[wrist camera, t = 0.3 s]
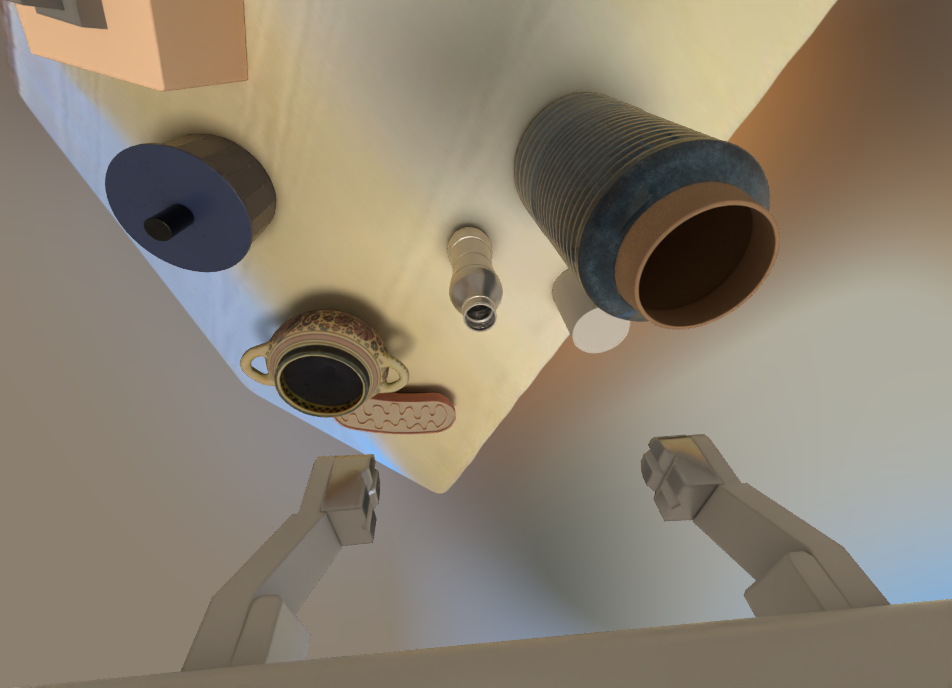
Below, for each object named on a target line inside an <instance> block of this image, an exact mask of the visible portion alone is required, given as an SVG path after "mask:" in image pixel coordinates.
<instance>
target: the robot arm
mask: <svg viewBox="0 0 952 688" xmlns="http://www.w3.org/2000/svg"><path fill="white" fill-rule="evenodd" d="M648 445H649V448H650V450H649V451H648V452H646V453H645V454H644V455H643V457H642V460H641V471H642V475H643V478H644V480H645V482H646V485H647V486H649V487H650V488H651V489H652V490H653V491H655V496H654V501H655V503H656V505H657V507H658V509H659V511H660V513H661V515H662V517H663V519H664V521H679V520H693V522H694V523H695V524H696V525H697V526H698V527H699V528H700V529H701V530H702V531H703V532H705V533H706V534H707V535H708V536H709V537H710V538H711V539H712V540H713V541H714V542H715V543H716V544H717V545H719V546H720V547H721V548H722V549H723V550H724V551H725V552H726V553H727V554H728V555H729V556H730V557H732V559H734V560H735V561H736V562H737V563H738V564H739V565H740V566H741V567H742V568H743V569H744V570H746V571H747V572H748V573H749V574H750V575H751V576H752V577H753V578H754V579H755V580H756V581H755V582H754V583H753V584H752V585H751V586H750V587H748V589H746V591H745V593H744V597H745V599H746V600H747V602H748V604H749V606H750V608H751V609H752V611H753V613H754V615H755V618H746V619H745V618H744V619H734V620H723V621H713V622H702V623H693V624H692V623H691V624H681V625H671V626H660V627H649V628H640V629H639V628H638V629H628V630H617V631H607V632H596V633H586V634H575V635H565V636H554V637H543V638H532V639H522V640H511V641H501V642H490V643H481V644H480V643H479V644H469V645H458V646H448V647H437V648H426V649H416V650H405V651H394V652H384V653H373V654H363V655H353V656H341V657H331V658H320V659H310V660H305V659H306V654H307V649H308V645H309V640H310V633H309V631H308V630H307V628H306V627H305V626H304V625H303V624H302V622H301V621H300V620H299V619H298V617H297V616H296V614H297V612H298V611H299V609H300V608H301V606H302V605H303V603H304V602H305V600H306V599H307V598H308V596H309V595H310V593H311V592H312V590H313V589H314V588H315V586H316V585H317V583H318V582H319V580H320V579H321V577H322V576H323V575H324V573H325V572H326V570H327V569H328V567H329V566H330V565H331V563H332V562H333V560H334V559H335V557H336V556H337V554H338V553H339V552H340V550H341V548H342V547H341V546H348V545H357V544H367V543H373V540H374V533H375V525H376V516H375V512H374V508H375V507H376V506H377V505H378V503H379V495H380V478H379V472H378V470H376V469H375V462H376V461H375V457H374V454H368V455H346V456H323V457H318V458H317V459H316V460H315V462H314V464H313V467H312V471H311V474H310V477H309V480H308V484H307V487H306V490H305V493H304V496H303V500H302V503H301V506H300V509H299V512H298V514H292V515H291V516H290V517H289V518H288V519H287V520H286V521H285V522H284V524H283V525H282V526H281V527H280V528H279V529H278V530H277V531H276V532H275V533H274V534H273V535H272V536H271V537H270V538H269V539H268V540H267V541H266V542H265V543H264V544H263V545H262V546H261V547H260V549H258V550H257V552H256V553H255V554H254V555H253V556H252V557H251V558H250V559H249V560H248V561H247V562H246V563H245V564H244V565H243V566H242V567H241V568H240V569H239V570H238V571H237V572H236V573H235V574H234V576H232V578H230V580H229V581H228V582H227V583H226V584H225V585H224V586H223V587H222V588H221V589H220V590H219V591H218V592H217V593H216V594H215V595H214V596H213V597H212V599H211V601H210V604H209V606H208V608H207V611H206V613H205V615H204V618H203V620H202V622H201V625H200V627H199V630H198V632H197V634H196V637H195V639H194V641H193V644H192V646H191V648H190V651H189V653H188V655H187V658H186V660H185V663H184V665H183V667H182V670H181V672H172V673H161V674H150V675H141V676H129V677H119V678H108V679H98V680H88V681H77V682H67V683H57V684H45V685H34V686H21V687H10V688H952V599H946V600H936V601H925V602H914V603H903V604H894V605H891V604H890V603H889V602H888V601H887V599H886V598H885V597H884V596H883V595H882V593H881V592H880V591H879V590H878V589H877V587H876V586H875V585H874V584H873V582H872V581H871V580H870V579H869V578H868V576H867V575H866V574H865V573H864V571H863V570H862V569H861V568H860V567H859V565H858V564H857V563H856V562H855V561H854V559H853V558H852V557H851V556H850V554H849V553H848V552H847V551H846V550H845V548H844V547H843V546H841V545H840V544H838V543H837V542H835V541H834V540H832V539H831V538H829V537H828V536H826V535H825V534H823V533H822V532H820V531H819V530H817V529H816V528H814V527H813V526H811V525H810V524H808V523H807V522H805V521H803V520H802V519H800V518H799V517H797V516H796V515H794V514H793V513H791V512H790V511H788V510H787V509H785V508H784V507H782V506H781V505H779V504H778V503H776V502H775V501H773V500H772V499H770V498H769V497H767V496H766V495H764V494H762V493H761V492H760V491H758V490H757V489H755V488H753V487H752V486H750V485H749V484H747V483H741V481H740V480H739V479H738V477H737V476H736V474H735V473H734V472H733V470H732V469H731V468H730V466H729V465H728V463H727V462H726V461H725V459H724V458H723V456H722V455H721V454H720V452H719V451H718V449H717V448H716V447H715V445H714V444H713V442H712V441H711V440H710V438H709V437H707V436H706V435H704V434H698V435H678V436H677V435H676V436H664V437H654V438H652V439H651V440H650V442H649V444H648Z"/></svg>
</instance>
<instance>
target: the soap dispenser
mask: <svg viewBox="0 0 952 688" xmlns="http://www.w3.org/2000/svg"><path fill="white" fill-rule="evenodd" d="M7 1H11V2H14V3H15V5H16V8H17V11H18V14H19V17H20V20H21V23H22V26H23V29H24V33H25V36H26V39H27V42H28V45H29V48H30V51H31V52H32V53H33V54H35V55H38V56H42V57H45V58H49V59H52V60H55V61H59V62H62V63H66V64H69V65H73V66H76V67H80V68H83V69H86V70H90V71H93V72H97V73H100V74H104V75H107V76H111V77H114V78H117V79H121V80H124V81H128V82H131V83H135V84H138V85H142V86H145V87H148V88H152V89H155V90H159V91H162V92H163V91H171V90H178V89H186V88H193V87H201V86H208V85H216V84H224V83H231V82H239V81H246V80H247V79H248V75H247V57H246V40H245V22H244V5H243V0H7Z"/></svg>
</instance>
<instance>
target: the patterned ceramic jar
mask: <svg viewBox="0 0 952 688" xmlns="http://www.w3.org/2000/svg"><path fill="white" fill-rule="evenodd" d="M259 356H263V357H265V359H266V365H267V369H268V372H269V373H267V374H264V373H262V372H260V371H258V370H257V369H255V368H254V367H252V366H251V362H252V360H253V359H254V358H256V357H259ZM240 366H241V369H242V371H243V372H244V373H245V374H246V375H247V376H248V377H250V378H252V379H253V380H255V381H257V382H259V383H261V384H264V385H270V386H275V387H276V389H277V391H278V393H279V395H280V397H281V398H282V399H283V400H284V401H285V402H286V403H287V404H289V405H290V406H291V407H293V408H294V409H296V410H298V411H300V412H302V413H305V414H308V415H312V416H317V417H339V416H343V415H346V414H348V413H351V412H353V411H354V410H356V409H357V408H358V407H360V406H361V405H362V404H363V403H364V402H366V401H368V400H369V399H371V398H372V397H374V396H375V395H376V394H377V393H390V392H395V391H398V390H399V389H401V388H403V387H404V386H405V385H406V384H407V382H408V379H409V372H408V369H407V368H406V367H405V366H404V365H403V363H402V362H400V361H399V360H398V359H396V358H394V357H392V356H391V355H389V354H388V352H387V349H386V346H385V344H384V342H383V340H382V339H381V337H380V336H379V334H378V333H377V332H376V331H375V330H374V329H373V328H372V327H371V326H370V325H369V324H367V323H366V322H365V321H363V320H361V319H360V318H358V317H356V316H353V315H351V314H348V313H345V312H341V311H336V310H316V311H310V312H306V313H303V314H300V315H298V316H296V317H294V318H292V319H290V320H288V321H287V322H285V323H284V324H283V325H281V326H280V327H279V329H278V330H277V331H276V332H275V333H274V334H273V336H272V337H271V339H270V340H269V341H268V342H266V343H263V344H260V345H257V346H255V347H252V348H250V349H249V350H247V351H246V352H245V353H244V354H243V356H242V358H241V360H240ZM389 367H390V368H392V369H394V370H395V371H396V372H398V374H399V376H400V378H399V380H397V381H395V382H392V383H387V381H386V378H387V375H388V371H389Z"/></svg>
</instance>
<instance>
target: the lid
mask: <svg viewBox="0 0 952 688" xmlns="http://www.w3.org/2000/svg"><path fill="white" fill-rule="evenodd" d="M105 188H106V194H107V198H108V201H109V204H110V207H111V209H112V211H113V213H114V215H115V216H116V218H117V220H118V221H119V223H120V224H121V225H122V227H123V228H124V229H125V230H126V232H127V233H128V234H129V235H130V236H131V237H132V238H133V239H134V240H135V241H136V242H137V243H138V244H140V245H141V246H142V247H143V248H145V249H146V250H147V251H149V252H150V253H152V254H153V255H155V256H156V257H158V258H160V259H162V260H164V261H165V262H168V263H170V264H172V265H175V266H177V267H180V268H183V269H187V270H192V271H198V272H216V271H221V270H225V269H228V268H230V267H232V266H234V265H236V264H237V263H238V262H240V261H241V260H242V259H243V258H244V256H245V255H246V254H247V252H248V251H249V249H250V247H251V244H252V239H253V224H252V219H251V215H250V212H249V210H248V207H247V205H246V203H245V201H244V199H243V197H242V196H241V194H240V193H239V191H238V190H237V189H236V187H235V186H234V185H233V184H232V183H231V181H230V180H229V179H228V178H227V177H226V176H225V175H224V174H223V173H222V172H220V171H219V170H218V169H217V168H216V167H214V166H213V165H212V164H210V163H209V162H207V161H206V160H204V159H203V158H201V157H199V156H197V155H195V154H193V153H191V152H189V151H186V150H184V149H181V148H178V147H175V146H171V145H166V144H159V143H146V144H140V145H135V146H132V147H129V148H127V149H125V150H123V151H121V152H120V153H119V154H117V155H116V156H115V157H114V159H113V160H112V161H111V163H110V165H109V166H108V169H107V172H106V179H105Z"/></svg>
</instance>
